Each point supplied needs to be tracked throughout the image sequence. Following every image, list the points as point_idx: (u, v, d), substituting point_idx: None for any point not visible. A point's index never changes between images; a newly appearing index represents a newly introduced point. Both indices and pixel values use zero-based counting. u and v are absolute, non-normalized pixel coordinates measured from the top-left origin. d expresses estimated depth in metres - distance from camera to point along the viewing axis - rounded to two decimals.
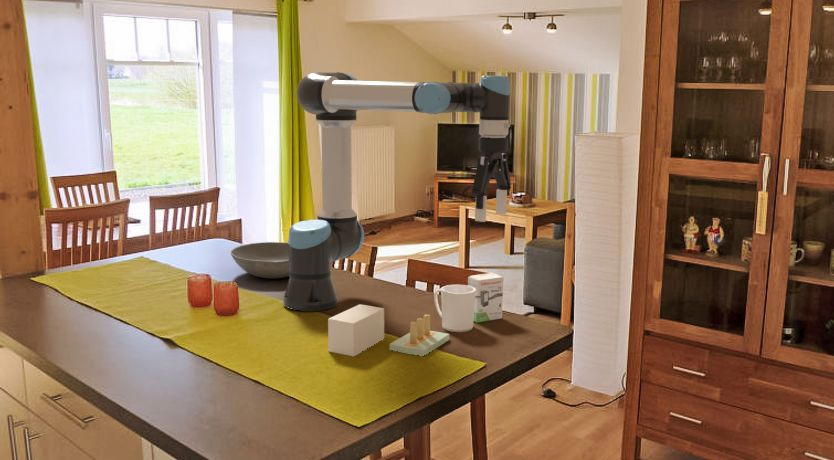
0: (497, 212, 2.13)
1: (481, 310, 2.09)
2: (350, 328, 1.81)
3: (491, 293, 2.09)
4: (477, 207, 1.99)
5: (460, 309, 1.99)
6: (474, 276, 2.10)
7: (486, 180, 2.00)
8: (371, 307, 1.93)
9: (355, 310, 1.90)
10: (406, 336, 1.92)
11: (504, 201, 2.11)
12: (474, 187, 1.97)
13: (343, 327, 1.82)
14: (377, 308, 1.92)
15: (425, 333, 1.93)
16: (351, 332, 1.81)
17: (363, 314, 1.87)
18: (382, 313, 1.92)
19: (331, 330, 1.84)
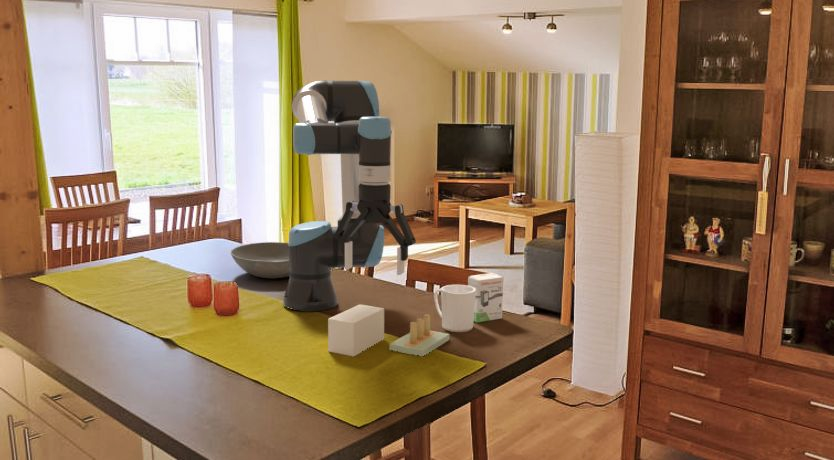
0: None
1: (481, 310, 2.09)
2: (350, 328, 1.81)
3: (491, 293, 2.09)
4: None
5: (460, 309, 1.99)
6: (474, 276, 2.10)
7: (350, 226, 1.88)
8: (371, 307, 1.93)
9: (355, 310, 1.90)
10: (406, 336, 1.92)
11: None
12: None
13: (343, 327, 1.82)
14: (377, 308, 1.92)
15: (425, 333, 1.93)
16: (351, 332, 1.81)
17: (363, 314, 1.87)
18: (382, 313, 1.92)
19: (331, 330, 1.84)
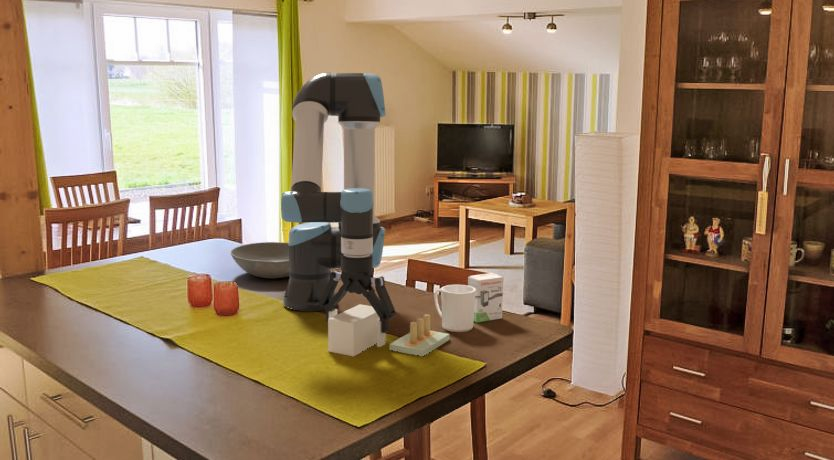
0: None
1: (481, 310, 2.09)
2: (350, 328, 1.81)
3: (491, 293, 2.09)
4: None
5: (460, 309, 1.99)
6: (474, 276, 2.10)
7: None
8: (371, 307, 1.93)
9: (355, 310, 1.90)
10: (406, 336, 1.92)
11: None
12: None
13: (343, 327, 1.82)
14: None
15: (425, 333, 1.93)
16: (351, 332, 1.81)
17: (363, 314, 1.87)
18: None
19: (331, 330, 1.84)
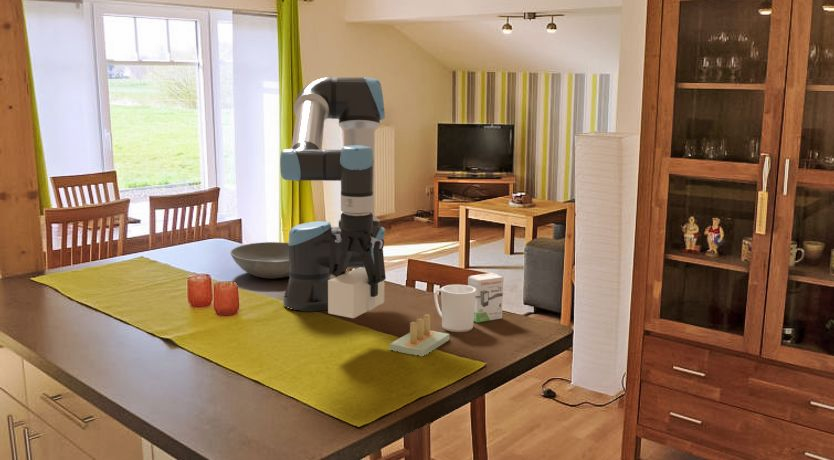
0: None
1: (481, 310, 2.09)
2: (350, 289, 1.80)
3: (491, 293, 2.09)
4: None
5: (460, 309, 1.99)
6: (474, 276, 2.10)
7: None
8: None
9: (355, 272, 1.89)
10: (406, 336, 1.92)
11: None
12: None
13: (343, 289, 1.81)
14: None
15: (425, 333, 1.93)
16: (351, 293, 1.80)
17: (363, 276, 1.86)
18: None
19: (331, 292, 1.82)
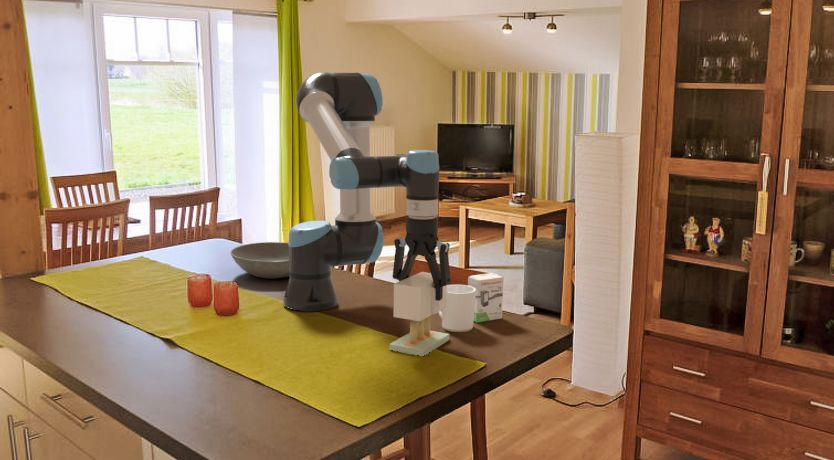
0: None
1: (481, 310, 2.09)
2: (417, 292, 1.80)
3: (491, 293, 2.09)
4: None
5: (460, 309, 1.99)
6: (474, 276, 2.10)
7: None
8: None
9: (418, 277, 1.90)
10: (406, 336, 1.92)
11: None
12: None
13: (409, 292, 1.81)
14: None
15: (425, 333, 1.93)
16: (417, 296, 1.80)
17: (427, 280, 1.87)
18: None
19: (397, 295, 1.83)
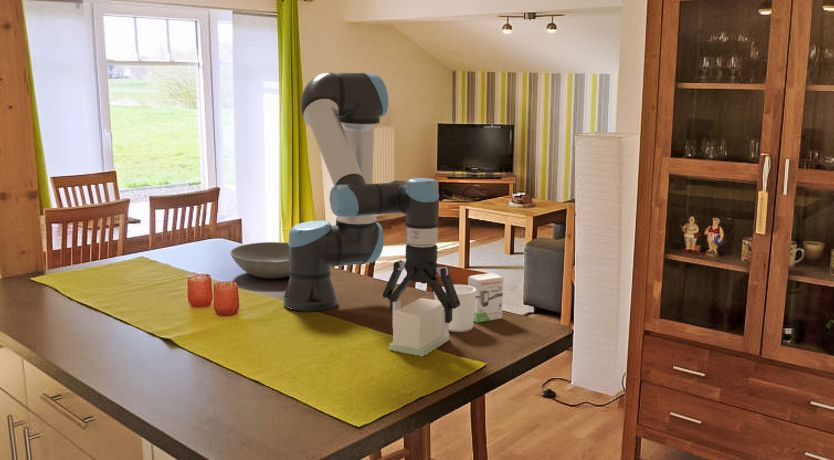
0: None
1: (481, 310, 2.09)
2: (416, 321, 1.82)
3: (491, 293, 2.09)
4: None
5: (460, 309, 1.99)
6: (474, 276, 2.10)
7: None
8: (433, 301, 1.94)
9: (418, 304, 1.91)
10: None
11: None
12: None
13: (409, 320, 1.83)
14: (439, 302, 1.93)
15: None
16: (417, 325, 1.82)
17: (426, 307, 1.88)
18: None
19: (396, 323, 1.84)
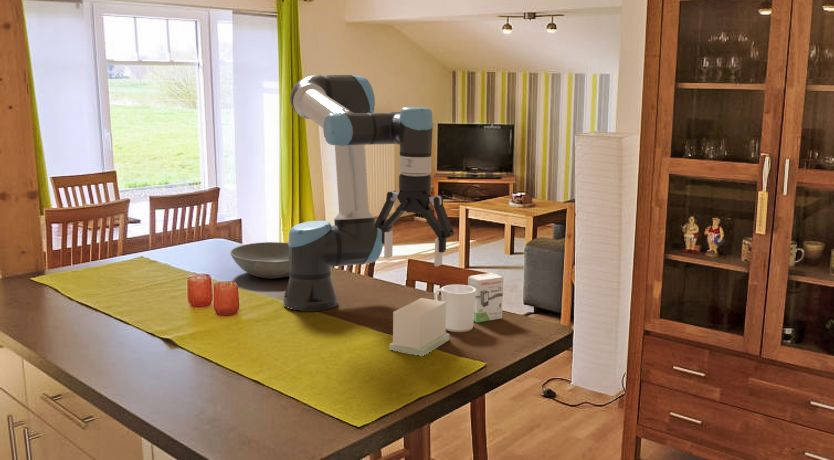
0: None
1: (481, 310, 2.09)
2: (416, 321, 1.82)
3: (491, 293, 2.09)
4: None
5: (460, 309, 1.99)
6: (474, 276, 2.10)
7: None
8: (433, 301, 1.94)
9: (418, 304, 1.91)
10: None
11: None
12: None
13: (409, 320, 1.83)
14: (439, 302, 1.93)
15: None
16: (417, 325, 1.82)
17: (426, 307, 1.88)
18: (444, 306, 1.93)
19: (396, 323, 1.84)
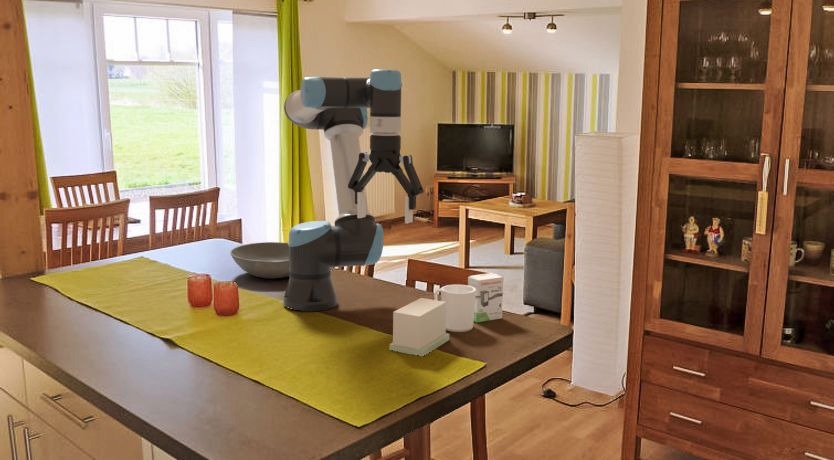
0: None
1: (481, 310, 2.09)
2: (416, 321, 1.82)
3: (491, 293, 2.09)
4: None
5: (460, 309, 1.99)
6: (474, 276, 2.10)
7: None
8: (433, 301, 1.94)
9: (418, 304, 1.91)
10: None
11: None
12: None
13: (409, 320, 1.83)
14: (439, 302, 1.93)
15: None
16: (417, 325, 1.82)
17: (426, 307, 1.88)
18: (444, 306, 1.93)
19: (396, 323, 1.84)
